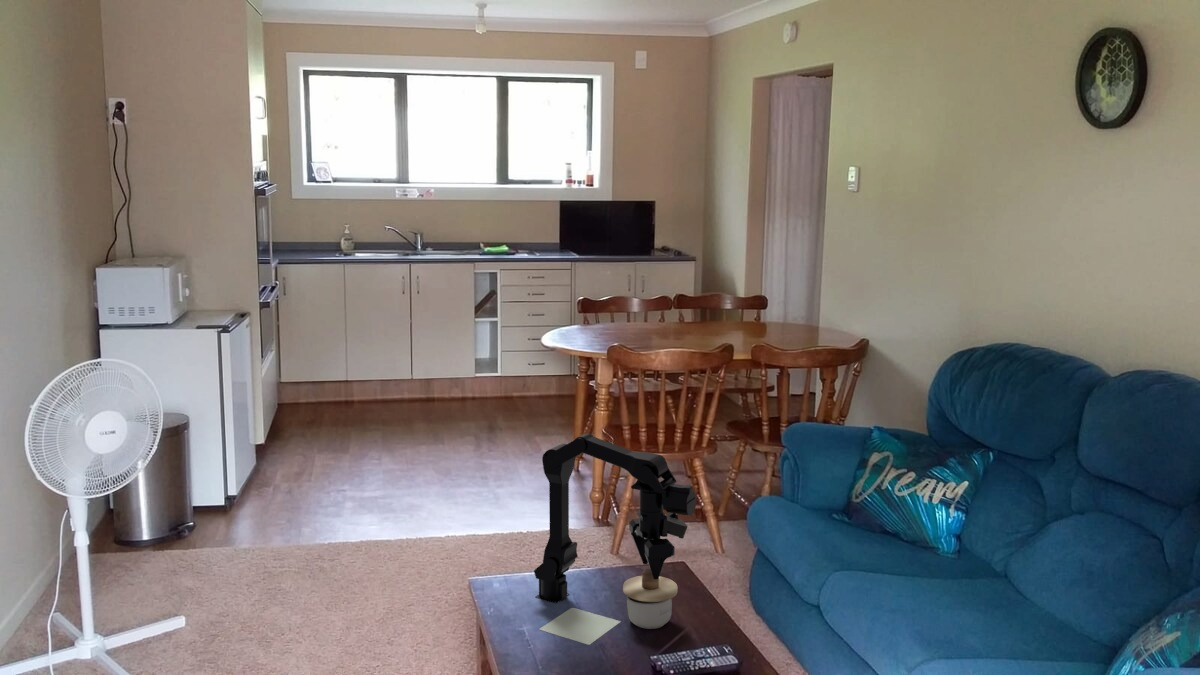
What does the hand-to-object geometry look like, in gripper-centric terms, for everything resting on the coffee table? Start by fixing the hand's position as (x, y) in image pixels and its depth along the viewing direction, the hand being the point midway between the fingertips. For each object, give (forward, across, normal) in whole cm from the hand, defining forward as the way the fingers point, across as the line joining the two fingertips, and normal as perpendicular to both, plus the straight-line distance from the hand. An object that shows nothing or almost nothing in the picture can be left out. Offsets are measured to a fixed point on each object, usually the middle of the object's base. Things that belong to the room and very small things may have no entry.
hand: (650, 571), depth 233 cm
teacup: (+13, 0, 0) cm, 13 cm away
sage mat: (+13, 0, +17) cm, 21 cm away
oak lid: (+5, 0, 0) cm, 5 cm away
